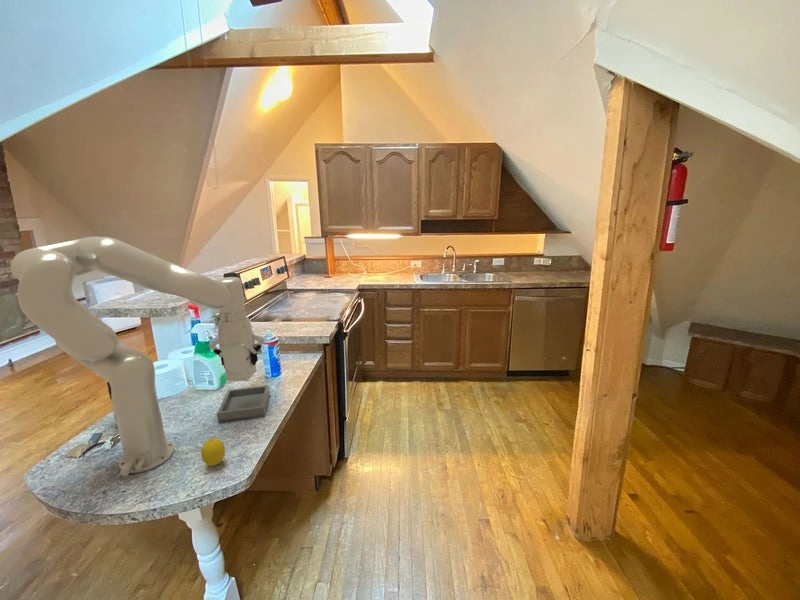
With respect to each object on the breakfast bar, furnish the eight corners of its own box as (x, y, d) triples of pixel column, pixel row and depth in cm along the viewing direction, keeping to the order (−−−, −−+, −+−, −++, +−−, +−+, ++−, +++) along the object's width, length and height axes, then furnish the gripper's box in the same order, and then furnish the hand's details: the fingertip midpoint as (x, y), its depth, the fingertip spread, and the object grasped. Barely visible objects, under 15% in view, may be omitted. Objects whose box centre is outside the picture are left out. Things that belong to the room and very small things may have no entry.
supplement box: (248, 381, 117) (243, 345, 114) (225, 381, 118) (220, 345, 114) (257, 371, 124) (252, 337, 121) (236, 371, 125) (231, 337, 122)
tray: (264, 416, 118) (263, 407, 117) (218, 423, 115) (216, 413, 114) (269, 393, 133) (268, 384, 132) (229, 398, 130) (227, 389, 129)
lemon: (201, 474, 92) (196, 447, 90) (206, 460, 98) (201, 434, 96) (225, 469, 94) (220, 443, 92) (228, 456, 99) (224, 430, 97)
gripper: (200, 321, 110) (209, 373, 115) (260, 316, 114) (266, 366, 118) (207, 314, 117) (215, 363, 122) (263, 310, 121) (269, 357, 125)
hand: (240, 365), depth 120 cm, fingers closed on supplement box, 8 cm apart
